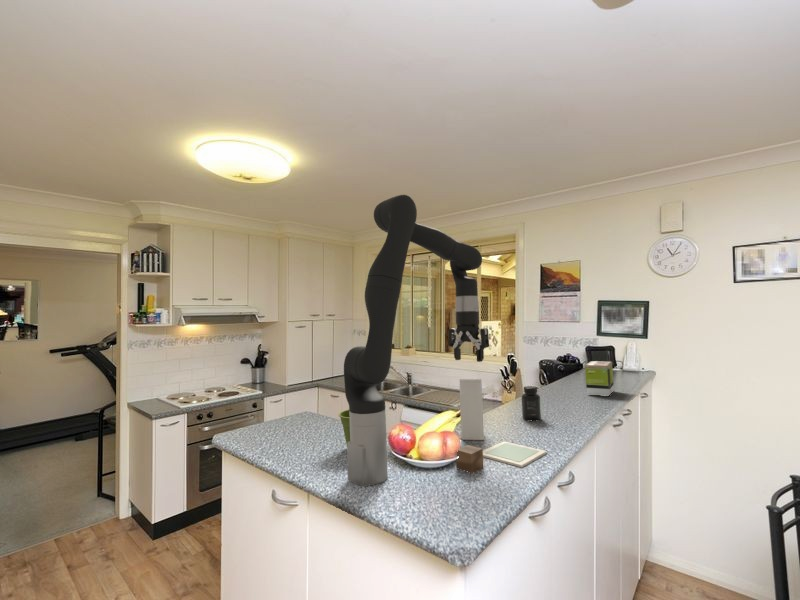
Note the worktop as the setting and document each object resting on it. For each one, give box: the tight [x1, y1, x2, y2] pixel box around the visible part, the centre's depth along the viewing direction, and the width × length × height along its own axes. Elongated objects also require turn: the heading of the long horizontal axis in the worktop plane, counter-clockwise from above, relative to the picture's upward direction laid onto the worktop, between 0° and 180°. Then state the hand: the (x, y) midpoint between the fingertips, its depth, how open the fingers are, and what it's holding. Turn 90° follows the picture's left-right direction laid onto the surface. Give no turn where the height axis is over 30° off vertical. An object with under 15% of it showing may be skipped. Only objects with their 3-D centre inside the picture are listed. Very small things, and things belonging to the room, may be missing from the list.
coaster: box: [483, 440, 548, 468], centre depth 114 cm, size 14×14×1 cm
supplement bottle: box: [520, 385, 542, 422], centre depth 151 cm, size 7×7×12 cm
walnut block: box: [455, 444, 484, 474], centre depth 105 cm, size 5×5×5 cm
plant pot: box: [338, 409, 350, 445], centre depth 124 cm, size 12×12×11 cm
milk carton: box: [459, 378, 485, 441], centre depth 131 cm, size 7×7×19 cm
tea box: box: [584, 360, 615, 396], centre depth 191 cm, size 15×10×15 cm, turn 144°
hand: (468, 360), depth 128 cm, fingers open, 8 cm apart
